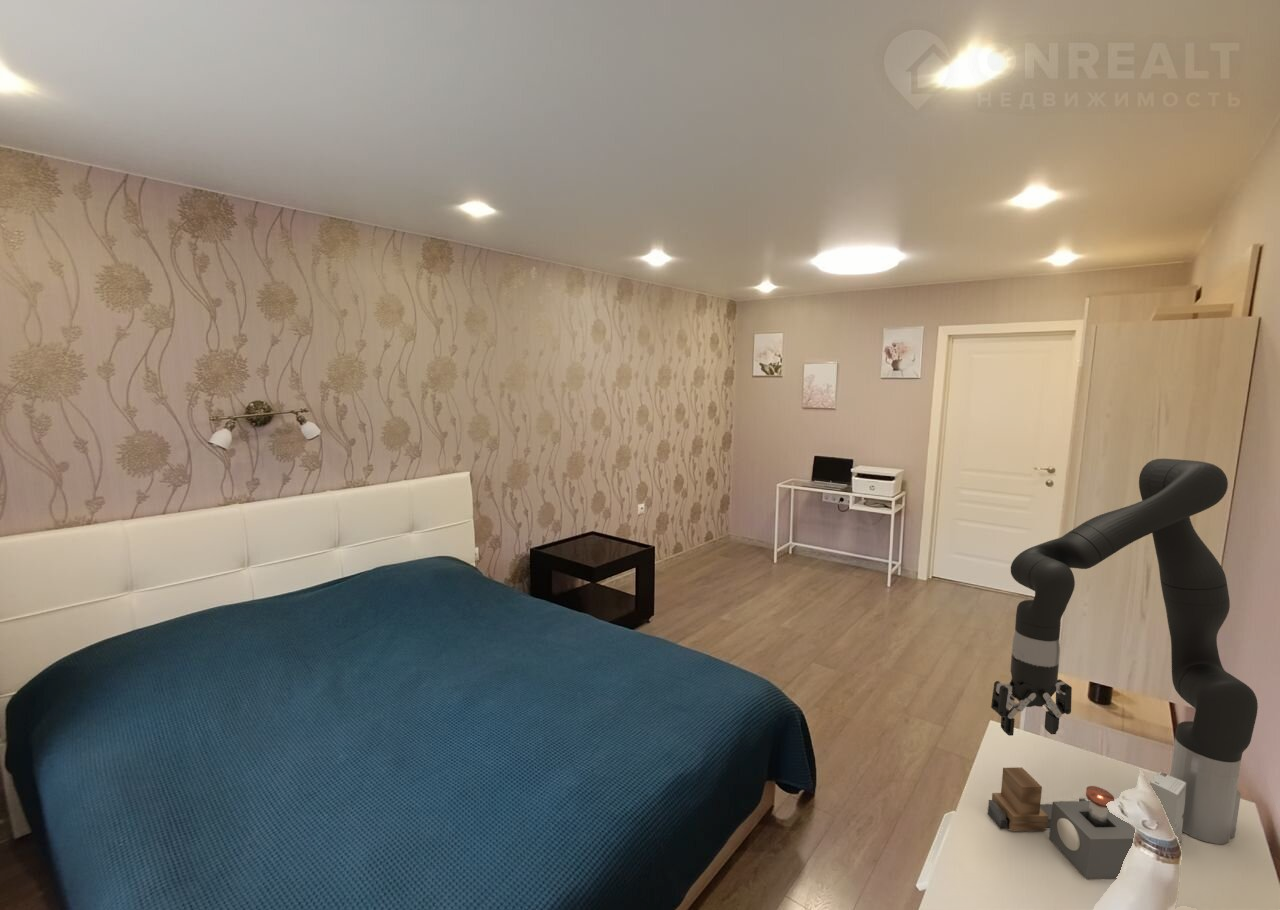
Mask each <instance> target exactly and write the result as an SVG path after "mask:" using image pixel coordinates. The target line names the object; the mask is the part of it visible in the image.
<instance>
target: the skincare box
mask: <svg viewBox="0 0 1280 910" xmlns="http://www.w3.org/2000/svg"><path fill="white" fill-rule="evenodd" d="M1149 783H1150V785H1151V786H1152V788H1153V790H1154V791H1155V793H1156V795H1157V796H1158V798H1159V799H1160V801H1161V804H1162V805H1163V808H1164V810H1165V812H1166V815H1167V817H1168V819H1169V822H1170V824H1171V826H1172V828H1173V831H1174V833H1175V835H1176V836H1177V837H1178V840H1179V842H1180V843H1181V841H1182V835H1183V831H1182V827H1183V816H1184V806H1185V793H1186V782H1184V781H1181V780H1179V779H1177V778H1174V777H1172V776H1170V775H1169V774H1168V773H1167V774H1166V773H1164V772H1162V771H1158V772H1157V773H1156V774H1154V776H1152V779H1151V780H1150V781H1149Z"/></svg>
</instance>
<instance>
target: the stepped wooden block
mask: <svg viewBox="0 0 1280 910" xmlns="http://www.w3.org/2000/svg"><path fill="white" fill-rule="evenodd" d="M1042 791H1043V786H1042V785H1041V784H1040V783H1039V782H1038V781H1037V780H1036V779H1034V778H1033V776H1032V775H1030V773H1029V772H1028V771H1026V770H1025V769H1024V768H1023V767H1017V766H1016V767H1002V776H1001V789H1000V792H992V794H991V800H994V801H995V802H996V803H997V804H998V805H999V807H1000V808H1001V809H1002V810H1003V811H1004V812H1005V813H1006V816H1007V817H1008V819H1009V820H1010V822H1009V829H1008V830H1009V831H1010V832H1028V831H1031V832H1036V831H1038V832H1041V831H1042V832H1043V831H1046V830H1047V828H1046V823H1048V815H1047V814H1046V813H1045V812H1044V811H1043V810H1042V809H1041V808H1040V804H1041V801H1042Z"/></svg>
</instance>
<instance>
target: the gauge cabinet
mask: <svg viewBox="0 0 1280 910" xmlns="http://www.w3.org/2000/svg"><path fill="white" fill-rule="evenodd" d="M1051 804H1052V814H1051V824H1050V828H1049V835H1048V839H1049V840H1050V841H1051V843H1052V844H1053V845H1054V846H1055V847H1056V848H1057V849H1058V850H1059V852H1060V853H1062V855H1064V857H1065V858H1066V859H1067V860H1068V861H1069V862H1070V863H1071V865H1072V866H1073V867H1074V868H1076V870H1077V871H1078V872H1079V873H1080V874H1081V876H1083V877H1084V879H1086V880H1103V879H1104V880H1116V879H1115V878H1116V877H1117V876H1118V874H1119V873H1120V870H1121V867H1122V864H1123V861H1124V859H1125V857H1126V855H1127V853H1128V851H1129V849H1130V848H1131V846H1132V843H1133V838H1134V833H1135V829H1136V828H1135V827H1134V826H1133V825H1132V824H1130V823H1129V822H1128V821H1127V822H1128V823H1127V822H1125V821H1123V820H1121V819H1120V818H1118V817H1116V816H1115V815H1113V814H1112V813H1110V812H1109V810H1108V813H1107V822H1106V827H1094V826H1093V825H1092V824H1091V823H1090V822H1089V821H1088V815H1089V806H1090V800H1086V801H1079V800H1076V801H1075V800H1073V801H1072V800H1071V801H1065V800H1063V801H1059V800H1058V801H1052V803H1051Z"/></svg>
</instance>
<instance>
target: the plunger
mask: <svg viewBox="0 0 1280 910" xmlns="http://www.w3.org/2000/svg"><path fill="white" fill-rule="evenodd" d="M1085 796H1086V799H1087V800H1088V801H1090V806H1089V815H1088V821H1089V822H1090V823H1091V824H1092V825H1093V826H1094V827H1106V822H1107V813H1108V808H1107V806H1106V804H1107V803H1108V802H1110V801H1114V802H1115V797H1114V794H1112V793H1110V791H1108V790H1106V789H1104V788H1103V787H1100V786H1096V785H1089V786H1087V787H1086V791H1085Z"/></svg>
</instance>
